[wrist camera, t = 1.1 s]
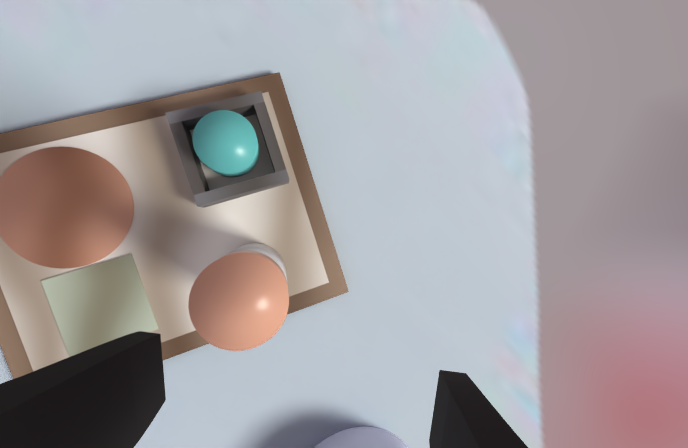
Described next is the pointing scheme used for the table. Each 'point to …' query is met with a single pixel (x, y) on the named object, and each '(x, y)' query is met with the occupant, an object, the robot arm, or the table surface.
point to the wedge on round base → (362, 439)
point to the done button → (226, 143)
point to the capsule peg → (240, 298)
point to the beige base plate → (146, 221)
